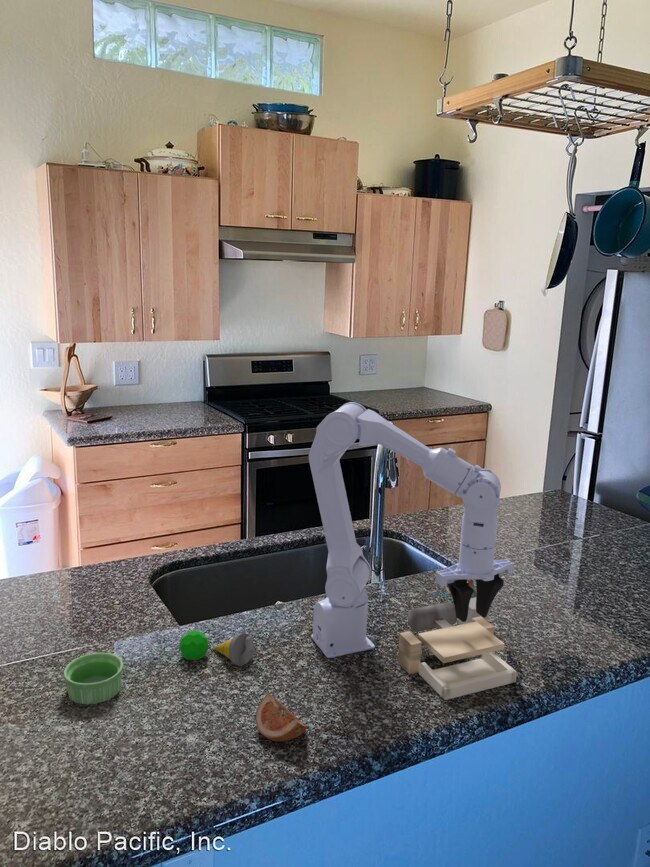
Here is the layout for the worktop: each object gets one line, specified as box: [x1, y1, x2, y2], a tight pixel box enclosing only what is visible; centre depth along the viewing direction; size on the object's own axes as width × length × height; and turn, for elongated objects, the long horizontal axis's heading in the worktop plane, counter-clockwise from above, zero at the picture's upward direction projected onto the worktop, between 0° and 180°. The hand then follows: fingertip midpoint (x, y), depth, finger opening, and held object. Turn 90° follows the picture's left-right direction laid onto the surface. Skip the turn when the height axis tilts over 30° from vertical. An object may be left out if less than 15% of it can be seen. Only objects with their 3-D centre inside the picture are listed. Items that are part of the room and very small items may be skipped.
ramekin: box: [63, 652, 124, 705], centre depth 109 cm, size 9×9×4 cm
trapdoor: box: [407, 601, 506, 664], centre depth 120 cm, size 15×12×4 cm
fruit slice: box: [255, 692, 308, 742], centre depth 100 cm, size 8×7×5 cm
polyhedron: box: [178, 630, 209, 661], centre depth 120 cm, size 5×5×5 cm
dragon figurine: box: [430, 579, 477, 600], centre depth 143 cm, size 6×7×8 cm
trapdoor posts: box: [397, 616, 495, 675], centre depth 121 cm, size 4×17×6 cm, turn 113°
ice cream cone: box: [213, 632, 257, 667], centre depth 120 cm, size 5×5×10 cm
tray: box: [418, 651, 518, 701], centre depth 116 cm, size 14×8×2 cm, turn 113°
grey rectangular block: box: [458, 597, 491, 625], centre depth 133 cm, size 4×4×5 cm
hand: (471, 616), depth 118 cm, fingers open, 4 cm apart
